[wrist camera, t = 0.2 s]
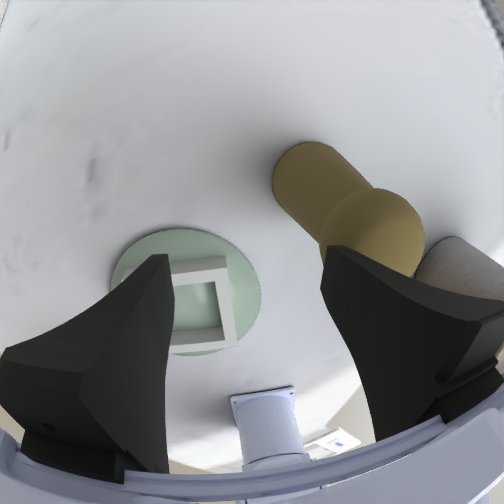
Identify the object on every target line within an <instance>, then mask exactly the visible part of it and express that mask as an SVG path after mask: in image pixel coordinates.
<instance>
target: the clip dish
mask: <svg viewBox="0 0 504 504" xmlns="http://www.w3.org/2000/svg"><path fill="white" fill-rule="evenodd" d="M152 254H168V257H169V264H170V271H171V277H172V284H173V290H174V296H175V310H174V323H173V329H172V335H171V341H170V347H169V353H168V354H174V355H181V356H199V355H206V354H210V353H214V352H217V351H220V350H223V349H225V348H232V347H238V340H240V339H241V338H242V337H243V336H244V335H245V334H246V333H247V332H248V331H249V330H250V328H251V327H252V326H253V324H254V322H255V320H256V319H257V316H258V313H259V310H260V305H261V290H260V285H259V281H258V278H257V275H256V273H255V270H254V268H253V266H252V265H251V263H250V262H249V261H248V259H247V258H246V257H245V256H244V255H243V253H242V252H241V251H240V250H238V249H237V248H236V247H235V246H233V245H232V244H231V243H229V242H227V241H226V240H224V239H222V238H220V237H218V236H216V235H214V234H211V233H207V232H204V231H200V230H194V229H183V228H178V229H167V230H162V231H158V232H155V233H152V234H149V235H147V236H145V237H143V238H141V239H139V240H138V241H137V242H135V243H134V244H133V245H131V246H130V247H129V248H128V249H127V250H126V251H125V253H124V254H123V255H122V257H121V258H120V260H119V261H118V263H117V265H116V267H115V269H114V272H113V275H112V278H111V286H110V292H111V291H112V290H113V289H114V288H116V287H117V286H118V285H119V284H120V283H121V282H123V281H124V280H125V279H126V278H127V277H128V276H129V275H130V274H131V273H132V272H133V271H134V270H136V269H137V268H138V267H139V266H140V265H141V264H142V263H143V262H144V261H145V260H146V259H147V258H148V257H149V256H151V255H152Z"/></svg>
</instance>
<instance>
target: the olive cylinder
mask: <svg viewBox="0 0 504 504" xmlns="http://www.w3.org/2000/svg"><path fill="white" fill-rule="evenodd" d="M273 192H274V195H275V198H276V201H277V202H278V203H279V204H280V206H281V207H282V208H283V209H284V210H285V211H286V212H287V213H288V214H289V215H290V216H291V217H292V218H293V219H294V220H295V221H296V222H297V223H298V224H299V225H300V226H301V227H302V228H303V229H304V230H306V231H307V232H308V233H309V234H310V235H311V236H312V237H313V238H314V239H315V240H316V241H317V242H318V243H319V248H320V254H321V258H322V262H323V266H324V263H325V257H326V250H327V246H330V245H343V246H346V247H348V248H351V249H353V250H355V251H357V252H359V253H361V254H363V255H365V256H367V257H369V258H371V259H373V260H375V261H377V262H379V263H381V264H383V265H384V266H387V267H389V268H391V269H393V270H395V271H397V272H399V273H401V274H403V275H405V276H408V277H410V276H411V275H412V274H413V273H414V271H415V270H416V268H417V266H418V264H419V263H420V261H421V258H422V255H423V252H424V248H425V234H424V229H423V225H422V222H421V219H420V216H419V215H418V214H417V212H416V211H415V209H414V208H413V207H412V206H411V205H410V204H409V203H408V201H407V200H405V199H404V198H402V197H401V196H399V195H397V194H395V193H393V192H390V191H388V190H384V189H379V188H373V187H372V185H371V184H370V183H369V182H368V181H367V180H366V179H365V178H364V177H363V176H362V175H361V174H360V173H359V172H358V171H357V170H356V169H355V168H354V167H353V166H352V165H351V164H350V163H349V162H348V161H347V160H346V159H345V158H344V157H343V156H342V155H341V154H340V153H338V152H337V151H336V150H335V149H334V148H332V147H331V146H328V145H326V144H323V143H320V142H307V143H304V144H300V145H297V146H295V147H293V148H292V149H291V150H289V151H288V152H286V153H285V154H284V155H283V157H282V158H281V159H280V161H279V162H278V163H277V165H276V168H275V171H274V174H273Z"/></svg>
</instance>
